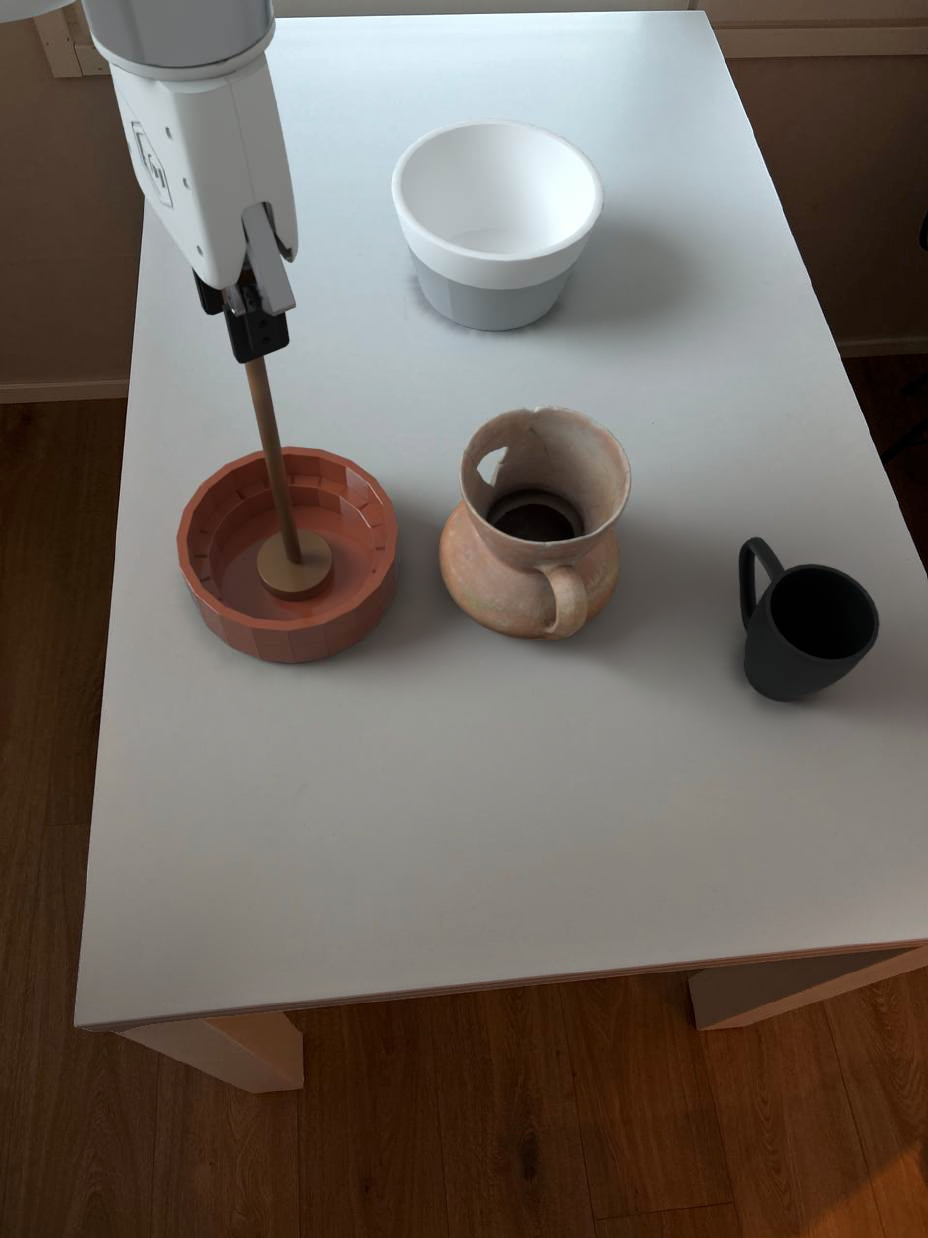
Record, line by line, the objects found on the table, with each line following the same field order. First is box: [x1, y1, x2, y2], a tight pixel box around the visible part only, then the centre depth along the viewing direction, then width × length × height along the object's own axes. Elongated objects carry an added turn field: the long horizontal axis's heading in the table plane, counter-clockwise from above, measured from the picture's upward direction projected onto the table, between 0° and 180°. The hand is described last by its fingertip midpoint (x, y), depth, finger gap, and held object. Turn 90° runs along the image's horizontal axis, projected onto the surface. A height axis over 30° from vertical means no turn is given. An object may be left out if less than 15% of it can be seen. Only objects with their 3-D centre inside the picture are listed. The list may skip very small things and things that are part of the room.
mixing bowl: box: [175, 445, 400, 664], centre depth 76 cm, size 17×17×6 cm
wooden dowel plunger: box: [221, 269, 334, 601], centre depth 64 cm, size 6×6×32 cm
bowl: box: [390, 118, 605, 332], centre depth 91 cm, size 19×19×11 cm
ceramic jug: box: [438, 404, 632, 641], centre depth 73 cm, size 18×14×14 cm
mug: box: [738, 536, 880, 703], centre depth 73 cm, size 8×12×10 cm
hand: (245, 325), depth 55 cm, fingers open, 3 cm apart
